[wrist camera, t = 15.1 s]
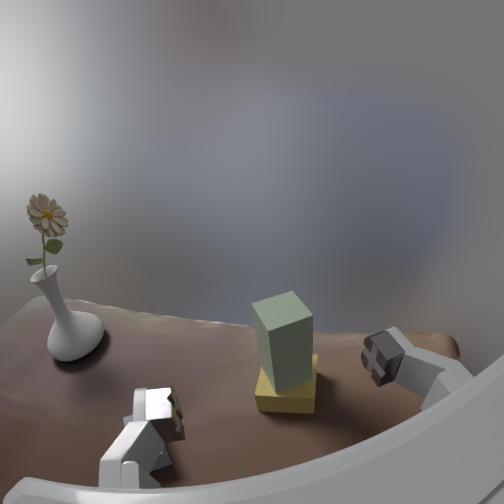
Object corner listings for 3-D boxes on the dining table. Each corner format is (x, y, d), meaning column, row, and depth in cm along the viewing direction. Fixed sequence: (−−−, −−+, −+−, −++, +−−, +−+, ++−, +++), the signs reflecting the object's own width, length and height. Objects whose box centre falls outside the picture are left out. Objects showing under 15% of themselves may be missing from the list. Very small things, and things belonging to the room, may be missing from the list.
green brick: (311, 379, 28) (312, 315, 23) (275, 393, 27) (268, 331, 23) (295, 355, 31) (292, 290, 27) (261, 367, 30) (251, 303, 26)
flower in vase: (80, 375, 34) (1, 214, 23) (42, 357, 38) (-23, 221, 27) (125, 323, 45) (74, 178, 34) (84, 314, 49) (37, 190, 38)
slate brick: (173, 464, 23) (162, 453, 21) (147, 473, 22) (135, 462, 20) (156, 423, 28) (146, 409, 26) (134, 431, 26) (122, 417, 25)
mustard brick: (313, 415, 27) (314, 397, 25) (258, 412, 28) (254, 395, 27) (316, 373, 32) (317, 354, 31) (267, 372, 34) (264, 353, 32)
